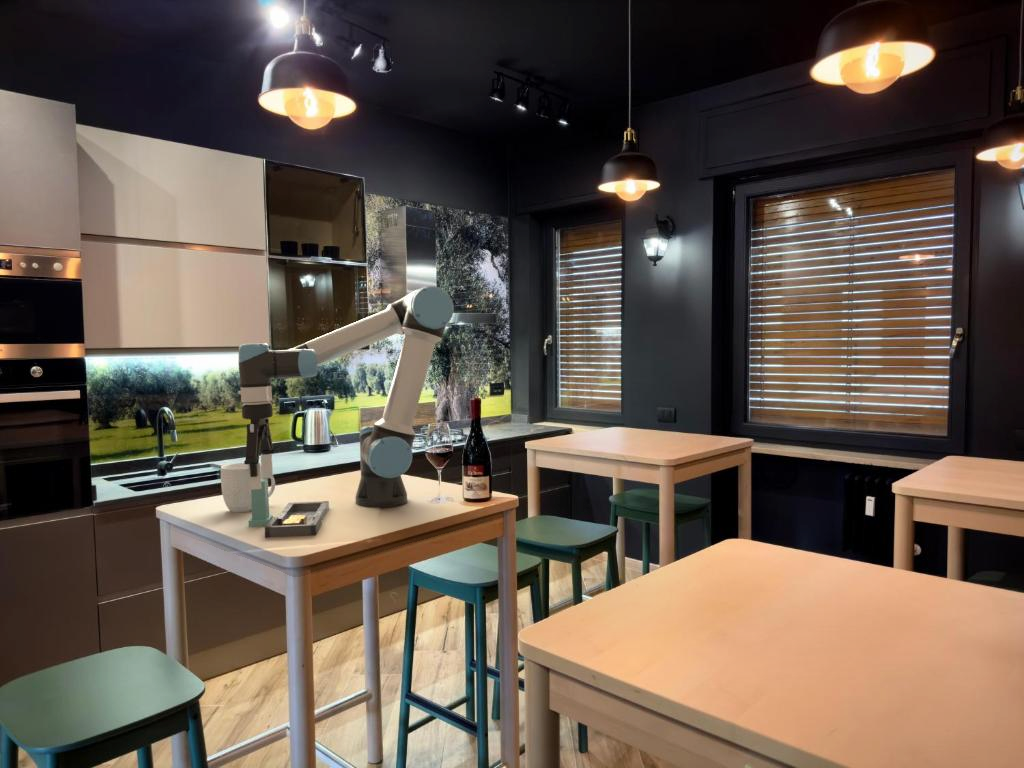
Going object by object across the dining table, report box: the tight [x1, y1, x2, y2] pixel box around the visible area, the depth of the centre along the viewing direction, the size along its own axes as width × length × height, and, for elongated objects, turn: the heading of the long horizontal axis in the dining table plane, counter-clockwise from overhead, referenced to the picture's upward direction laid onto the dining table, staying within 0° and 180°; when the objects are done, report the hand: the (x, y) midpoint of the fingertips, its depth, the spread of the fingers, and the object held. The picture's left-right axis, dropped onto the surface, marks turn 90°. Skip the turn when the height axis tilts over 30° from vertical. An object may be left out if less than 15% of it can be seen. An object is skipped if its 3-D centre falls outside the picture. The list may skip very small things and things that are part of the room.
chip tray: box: [264, 515, 323, 539], centre depth 173 cm, size 12×10×3 cm
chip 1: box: [282, 519, 302, 526], centre depth 173 cm, size 4×4×2 cm
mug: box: [220, 462, 276, 513], centre depth 198 cm, size 15×11×13 cm
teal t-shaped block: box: [248, 478, 274, 528], centre depth 181 cm, size 5×5×12 cm
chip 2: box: [288, 515, 307, 525], centre depth 177 cm, size 4×4×2 cm
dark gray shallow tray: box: [277, 500, 330, 526], centre depth 187 cm, size 11×18×2 cm, turn 7°
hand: (261, 483), depth 181 cm, fingers open, 13 cm apart
